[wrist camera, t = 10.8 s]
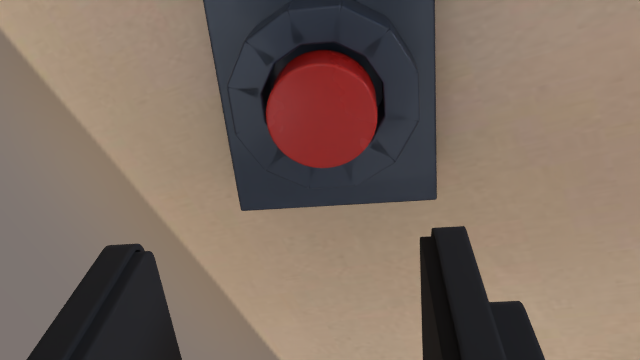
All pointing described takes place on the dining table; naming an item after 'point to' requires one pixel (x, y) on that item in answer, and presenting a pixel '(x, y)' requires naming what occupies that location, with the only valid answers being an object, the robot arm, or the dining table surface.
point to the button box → (372, 54)
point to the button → (322, 109)
